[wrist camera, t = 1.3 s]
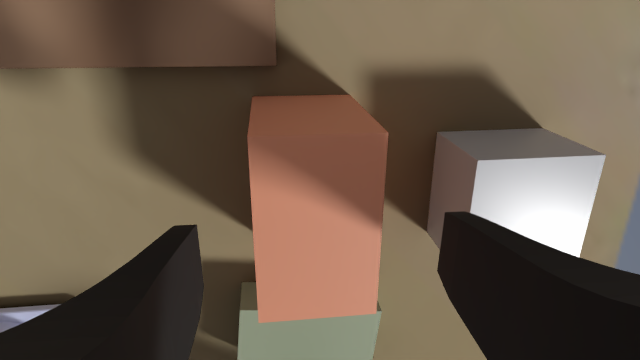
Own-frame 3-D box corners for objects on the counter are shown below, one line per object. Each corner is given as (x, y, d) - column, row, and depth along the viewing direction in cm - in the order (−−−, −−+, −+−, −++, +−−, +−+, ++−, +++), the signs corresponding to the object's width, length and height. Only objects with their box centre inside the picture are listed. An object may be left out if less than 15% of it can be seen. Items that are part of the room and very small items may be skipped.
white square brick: (425, 230, 21) (460, 278, 17) (435, 131, 19) (477, 160, 15) (522, 224, 21) (575, 269, 18) (541, 127, 19) (605, 155, 16)
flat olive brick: (238, 343, 22) (236, 380, 20) (242, 278, 21) (239, 310, 18) (358, 342, 23) (368, 377, 21) (369, 280, 22) (381, 311, 19)
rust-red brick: (259, 234, 20) (258, 323, 14) (252, 96, 17) (247, 136, 12) (345, 230, 20) (375, 313, 15) (349, 94, 18) (388, 132, 12)
